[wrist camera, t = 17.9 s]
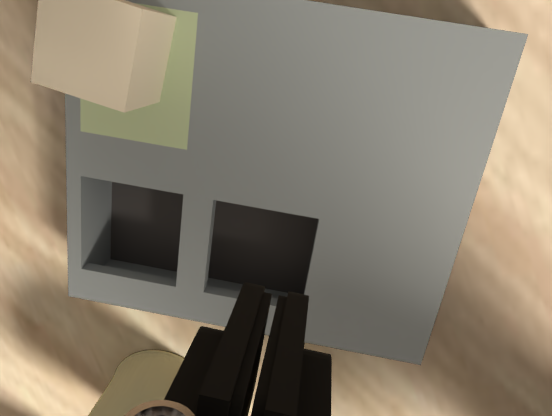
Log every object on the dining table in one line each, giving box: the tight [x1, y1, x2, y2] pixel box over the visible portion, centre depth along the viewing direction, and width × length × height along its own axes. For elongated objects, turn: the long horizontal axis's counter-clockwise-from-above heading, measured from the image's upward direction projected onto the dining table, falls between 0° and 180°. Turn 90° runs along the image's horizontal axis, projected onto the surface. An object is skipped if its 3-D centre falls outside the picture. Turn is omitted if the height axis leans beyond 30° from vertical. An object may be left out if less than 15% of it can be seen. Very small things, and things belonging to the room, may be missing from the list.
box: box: [65, 0, 528, 365], centre depth 30 cm, size 26×22×5 cm
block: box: [30, 0, 177, 113], centre depth 24 cm, size 5×5×5 cm
